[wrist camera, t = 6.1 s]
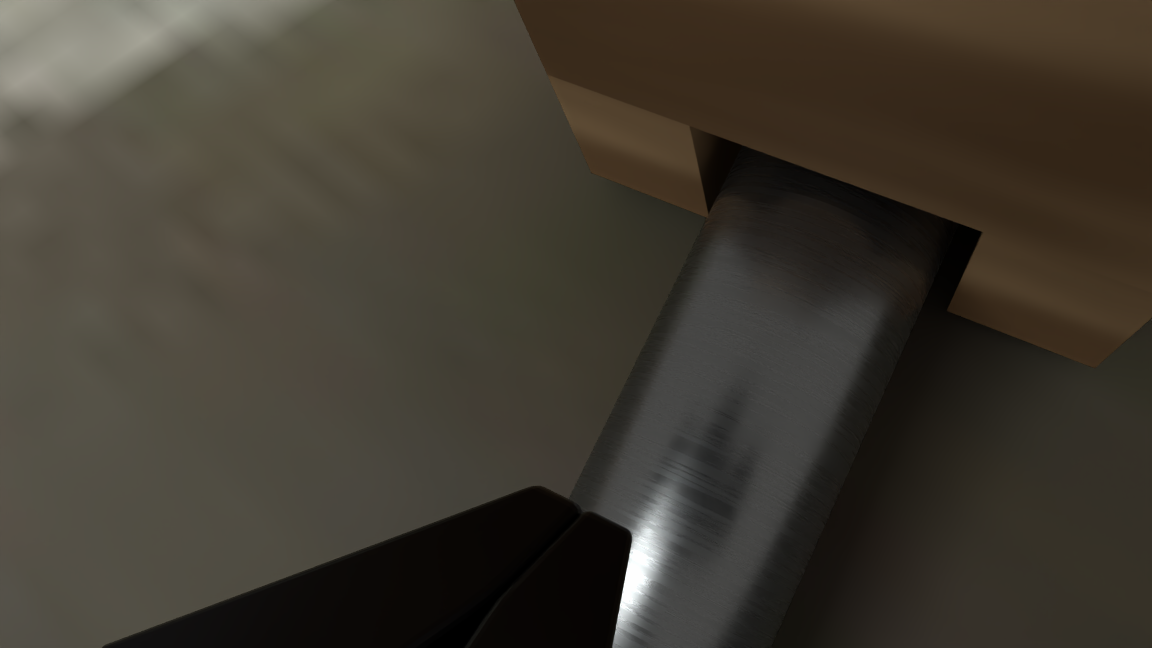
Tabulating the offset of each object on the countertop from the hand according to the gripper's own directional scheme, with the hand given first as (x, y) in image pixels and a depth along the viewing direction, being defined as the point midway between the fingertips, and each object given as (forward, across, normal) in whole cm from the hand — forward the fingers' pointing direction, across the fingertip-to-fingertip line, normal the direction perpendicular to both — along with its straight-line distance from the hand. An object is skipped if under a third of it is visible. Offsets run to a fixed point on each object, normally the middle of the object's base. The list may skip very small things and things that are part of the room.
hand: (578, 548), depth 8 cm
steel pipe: (+8, 0, +2) cm, 8 cm away
